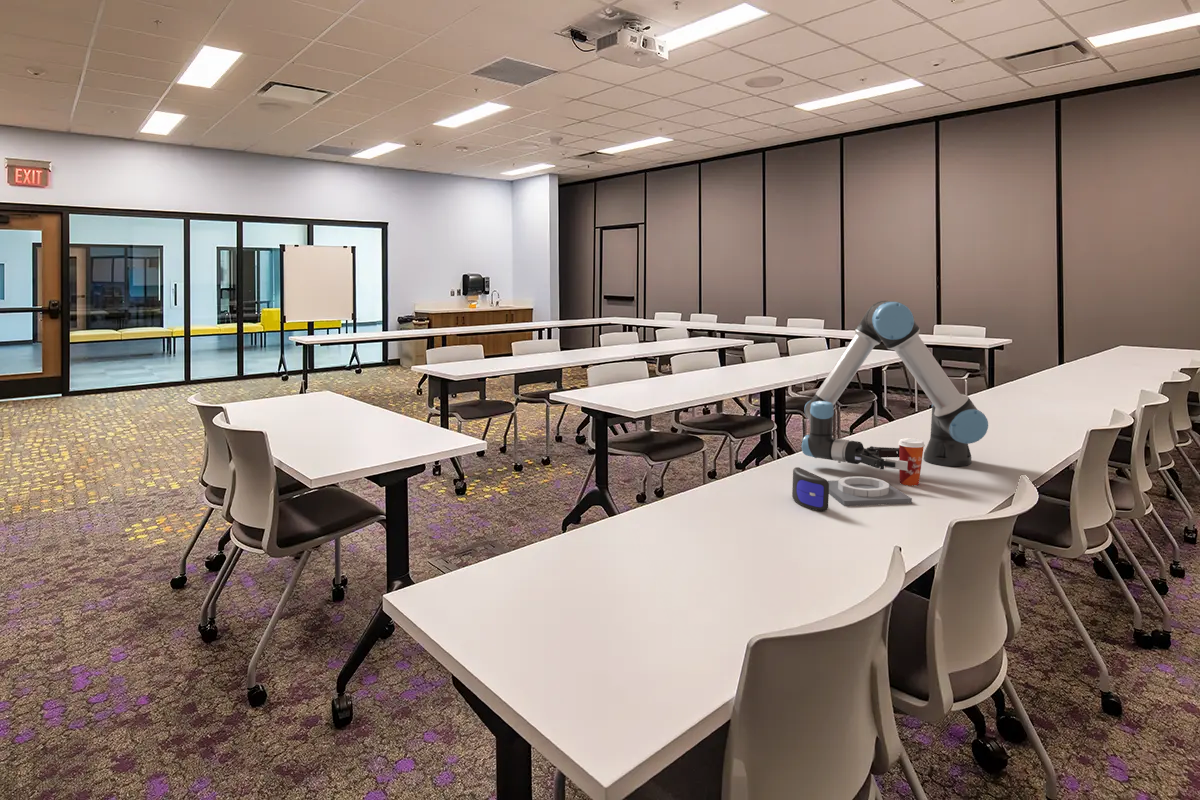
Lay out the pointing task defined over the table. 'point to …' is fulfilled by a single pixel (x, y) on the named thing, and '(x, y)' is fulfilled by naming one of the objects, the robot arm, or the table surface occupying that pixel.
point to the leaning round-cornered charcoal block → (810, 490)
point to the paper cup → (911, 460)
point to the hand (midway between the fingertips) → (914, 461)
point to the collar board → (867, 500)
